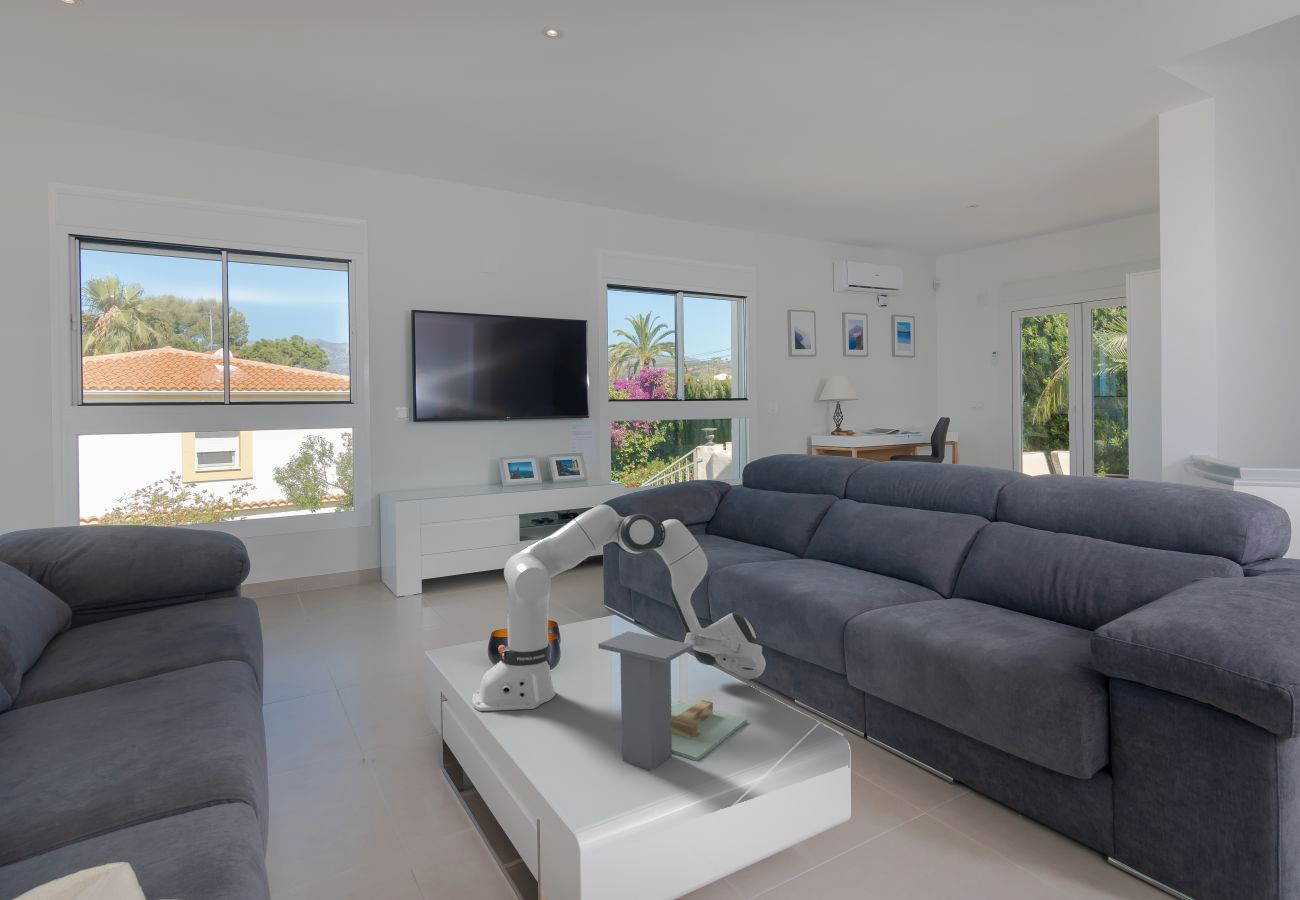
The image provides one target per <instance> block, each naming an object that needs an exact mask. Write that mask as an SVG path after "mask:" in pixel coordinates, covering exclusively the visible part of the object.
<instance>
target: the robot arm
mask: <svg viewBox="0 0 1300 900" xmlns="http://www.w3.org/2000/svg"><path fill="white" fill-rule="evenodd" d="M609 543H613V544H615V546H617V547H618V548H619V549H621V551H623V552H624V553H629V554H637V555H638V554H642V553H645V552H648V551H651V550H653V551H655V552H656V553H658V554H659V555H660V557H661V559H662V560H663V561H664V563H665V565H666V567H667V568H668V570H669V572H670V576H671V583H670V584H669V586H668V587H669V593H670V597H671V600H672V603H673V605H674V608H675V610H676V612H677V614H678V617H679V620H680V621H681V624H682V626H683V629H684V631H685V633H686V635H685V636H684V637H685V638H684V641H683V643H688V644H693V649H692V650H691V651H692V652H693V653H692V654H693V655H694V657H695V659H696V661H698V663H700V664H702V665H705V666H706V665H707V666H711V667H712V666H715V665H716V664H718V665H719V667H720V666H721V668H724V669H726V670H727V671H729V672H732V673H734V675H737V676H739V677H741V678H744V679H748V680H753V679H756V678H758V677H760V676H761V675H762V674H763V673H764V672H765V669H766V665H767V663H766V659H765V656H764V655H763V646H762V645H761V644H758V635H757V632H756V628H755V627H754V625H753V624H752V622H751V621H750V620H749V618H747V617H746V616H745V615H743V614H741V613H739V612H736V611H734V612H733V611H732V612H731V613H729V614H726V615H725V616H724V617H722V618H720V619H719V620H717V621H716V622H714V623H712V624H710V625H708V626H707V627H705V628H704V627H701V624H700V622H699V620H698V618H697V615H696V612H695V610H694V607H693V605H692V602H691V599H692V598H691V597H692V595H693V592H694V591H695V590H696V588H697V587H698V586H699V584H700V583H701V582H702V581H703V579H704V577H705V576H706V573H707V571H708V566H709V565H708V563H709V562H708V559H707V556H706V554H705V552H704V550H703V548H702V547H701V545H700V544H699V542H698V541H697V539H696V538H695V536H693V534H692V533H691V532H690V530H689V529H688V528H687V526H685V525H684V524H683V523H682V522H681V521H680V520H679V519H676V518H672V519H670V518H669V519H666V520H664V521H662V522H661V521H659V520H657V519H655V518H654V517H652V516H650V515H648V514H644V513H635V514H632V515H627V516H624V517H623V516H621V515H619V514H618V513H617V511H616V510H615V509H614V508H613V507H611V506H609V505H608V504H599V505H597V506H594V507H593V508H590V509H588V510H586V511H585V512H582V513H581V514H579V515H578V516H576V517H575V518H574V519H571V521H569V522H567V523H565V524H564V525H563V526H561V527H560V528H559V529H557V530H556V531H554V532H553V533H551V534H550V535H549V536H546V537H545V538H543V539H541V540H539V541H537V542H535V543H533V544H532V545H529V546H528V547H526V548H525V549H523V550H521V551H519V552H517V553H514V554H513V555H511V556H510V557H509V558H508V559H507V561H506V563H505V566H504V569H503V576H504V581H506V584H507V586H508V613H507V620H506V621H507V646H505V644H501V645H499V646H498V653H499V654H500V660H499V662H497V663H496V664H494V666H493V667H491V668H490V669H488V670H487V671H486V672H485V673H484V674H483V677H482V679H481V682H480V686H479V687H480V688H478V689H477V690H475V691H474V692H473V695H472V699H471V700H472V701H471V704H472V706H473V708H474V709H475V710H477V711H480V712H485V711H486V712H488V711H489V712H490V711H492V712H493V711H511V710H512V711H513V710H516V711H517V710H533V709H534V710H535V709H537V708H538V707H540V705H542V704H544V703H547V702H548V701H551V700H552V699H553V698H554V697H556V690H555V688H554V685H553V680H552V675H551V667H550V665H551V658H552V657H551V656H552V655H551V646H550V642H549V609H550V600H551V599H550V598H551V586H552V577H555V576H556V575H558V574H560V573H562V572H565V571H567V570H571V569H573V568H574V567H577V565H579V564H580V563H582V562H583V561H585V560H586V559H587V558H588V557H590V556H592V555H593V554H594V553H596V552H598V550H600V549H601V548H602V547H604V546H605V545H607V544H609Z"/></svg>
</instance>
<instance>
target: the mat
mask: <svg viewBox="0 0 1300 900" xmlns="http://www.w3.org/2000/svg"><path fill="white" fill-rule="evenodd" d="M694 705H695V704H691V703H687V702H683V701H678V702H676V703H675V704H673V705H671V715H674V716H678V715H680V714H681V713H683V712H684V711H686V710H688V709H689V708H691V707H692V706H694ZM747 721H748V719H747V718H745V717H741V716H738V715H737V716H736V715H733V714H730V713H729V714H728V713H726V712H721V711H717V710H714V709H713V714H712V715H711V716H709V717H708V718H706V719H705V720H703V721H702V722H701V723H700V735H699V736H698V737H697V738H695V739H694V740H692V739H688V738H685V737H682V736H678V735H675V734H672V755H676V756H680V757H683V758H686V759H689V760H692V761H695V762H698V761H699V760H700V759H702V758H703V757H704V756H705V755H707V754H708V753H710V751H712V750H713V749H714V748H716V747H717V746H718V745H719V744H721V743H722V742H723V741H725V740H726V739H727V738H728V737H730V736H731V735H732V734H733V733H735V732H736V731H737V730H738V729H740V728H741V727H742V726H744V725H745V724H747V723H748V722H747Z"/></svg>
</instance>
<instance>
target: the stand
mask: <svg viewBox="0 0 1300 900" xmlns="http://www.w3.org/2000/svg"><path fill="white" fill-rule="evenodd" d="M598 649H601V650H605V651H608V652H613V653H617V654H620V696H621V697H620V703H621V704H620V706H621V707H620V709H621V711H620V712H621V757H622V758H621V761H622V762H625V763H627V764H628V763H629V764H631V765H634V766H637V767H640V768H642V769H646V770H648V771H653V770H654V769H656V768H657V767H658V766H660V765H662V764H663V763H664V762H665V761H667V760H668V759H669V758H671V757H672V756H673V753H672V730H671V706H672V677H671V675H672V672H671V671H672V668H671V667H672V666H671V665H672V663H671V661H673V660H675V659H676V658H678V657H680V656H682V655H684V654H686V653H687V652H690V651H692V649H693V644H688V643H684V641H683V642H682V641H678V640H673V639H668V638H664V637H663V638H662V637H658V636H654V635H653V636H652V635H649V634H643V633H638V632H634V631H626V632H623V633H621V634H619V635H616V636H613V637H612V638H609V639H606V640H604V641H602V642H600V643H598Z"/></svg>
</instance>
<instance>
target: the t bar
mask: <svg viewBox="0 0 1300 900" xmlns="http://www.w3.org/2000/svg"><path fill="white" fill-rule="evenodd" d="M713 704H714V703H713V702H712V701H710V700H709V701H708V700H705V699H701V700H700V701H698V702H697V703H696V704H693V705H694V706H692V707H691V708H689V709H688V710H686V711H684V712H683V713H681V714H680V715H678V716H674V715H671V730H672V734H675V735H678V736H682V737H685V738H688V739H692V740H694V739H695V738H697V737H698V736H699V735H700V723H701V722H702V721H703V720H705V719H706V718H708V717H709V716H711V715H712V714H713V710H714V708H713V707H714V705H713Z"/></svg>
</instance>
